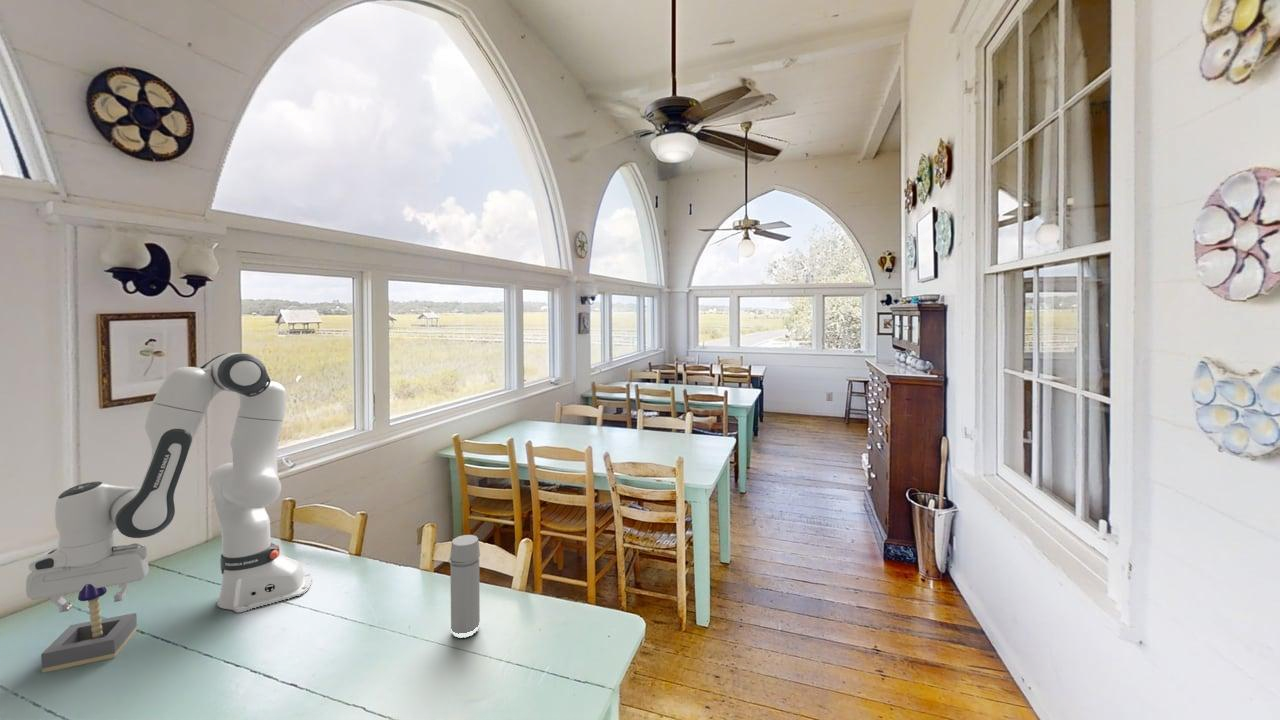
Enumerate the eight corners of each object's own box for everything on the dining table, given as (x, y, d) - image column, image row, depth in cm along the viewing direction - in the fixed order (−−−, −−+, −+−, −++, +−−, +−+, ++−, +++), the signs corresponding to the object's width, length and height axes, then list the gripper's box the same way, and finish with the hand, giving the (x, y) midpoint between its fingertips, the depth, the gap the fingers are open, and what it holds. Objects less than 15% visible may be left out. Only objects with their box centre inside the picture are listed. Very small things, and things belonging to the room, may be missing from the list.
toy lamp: (90, 653, 118) (86, 586, 116) (76, 650, 119) (71, 583, 117) (115, 640, 122) (111, 575, 121) (101, 637, 123) (97, 573, 122)
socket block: (137, 629, 128) (136, 612, 128) (114, 657, 118) (113, 639, 118) (71, 642, 123) (70, 625, 123) (42, 672, 112) (41, 654, 112)
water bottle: (486, 630, 131) (486, 539, 129) (459, 645, 125) (458, 549, 123) (467, 616, 137) (466, 529, 135) (440, 630, 131) (439, 538, 129)
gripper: (151, 536, 126) (155, 587, 128) (35, 554, 117) (41, 609, 118) (140, 547, 121) (145, 600, 122) (17, 566, 111) (24, 624, 113)
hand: (93, 605), depth 120 cm, fingers open, 8 cm apart
